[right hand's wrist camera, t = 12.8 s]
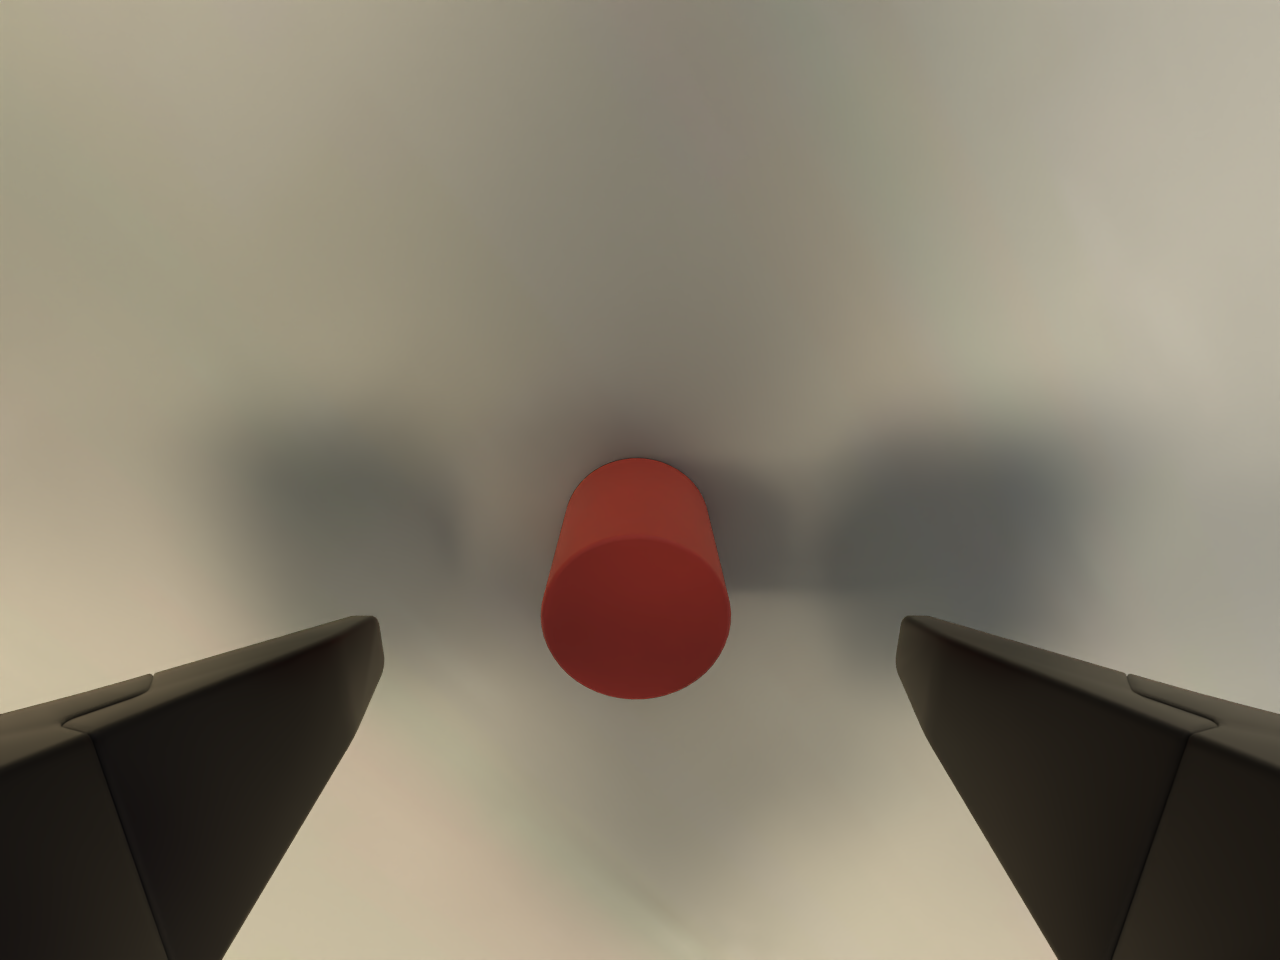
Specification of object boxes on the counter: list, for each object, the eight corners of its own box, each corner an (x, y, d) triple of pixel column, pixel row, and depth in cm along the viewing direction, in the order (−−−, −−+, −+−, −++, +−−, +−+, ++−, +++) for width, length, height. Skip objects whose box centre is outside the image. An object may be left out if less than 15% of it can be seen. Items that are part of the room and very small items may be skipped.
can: (737, 506, 16) (770, 597, 12) (656, 611, 17) (662, 729, 13) (614, 429, 15) (605, 499, 11) (538, 544, 16) (505, 646, 12)
